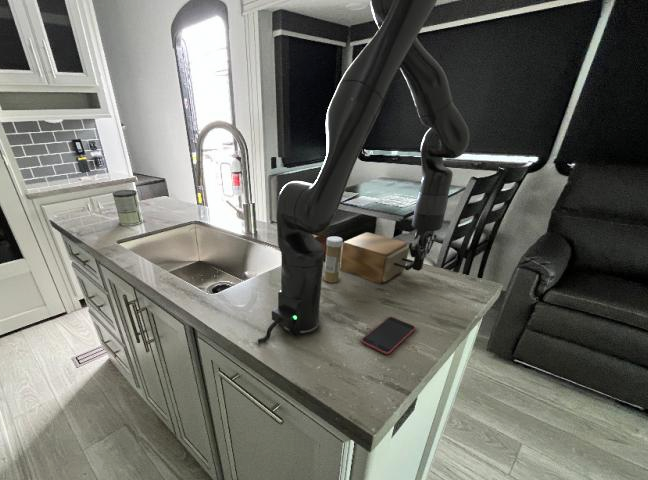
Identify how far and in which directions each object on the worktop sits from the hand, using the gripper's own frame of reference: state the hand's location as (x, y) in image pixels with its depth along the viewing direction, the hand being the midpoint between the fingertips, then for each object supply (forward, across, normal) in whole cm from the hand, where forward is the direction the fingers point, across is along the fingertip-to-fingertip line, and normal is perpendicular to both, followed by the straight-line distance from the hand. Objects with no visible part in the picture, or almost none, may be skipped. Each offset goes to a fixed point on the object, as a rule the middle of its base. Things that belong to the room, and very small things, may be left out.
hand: (416, 269), depth 95 cm
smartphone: (+5, +29, +8) cm, 30 cm away
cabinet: (+5, 0, -15) cm, 15 cm away
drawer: (+4, 0, -10) cm, 11 cm away
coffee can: (+2, +33, -124) cm, 128 cm away
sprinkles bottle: (+5, +15, -20) cm, 25 cm away
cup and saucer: (+4, +1, -34) cm, 34 cm away
